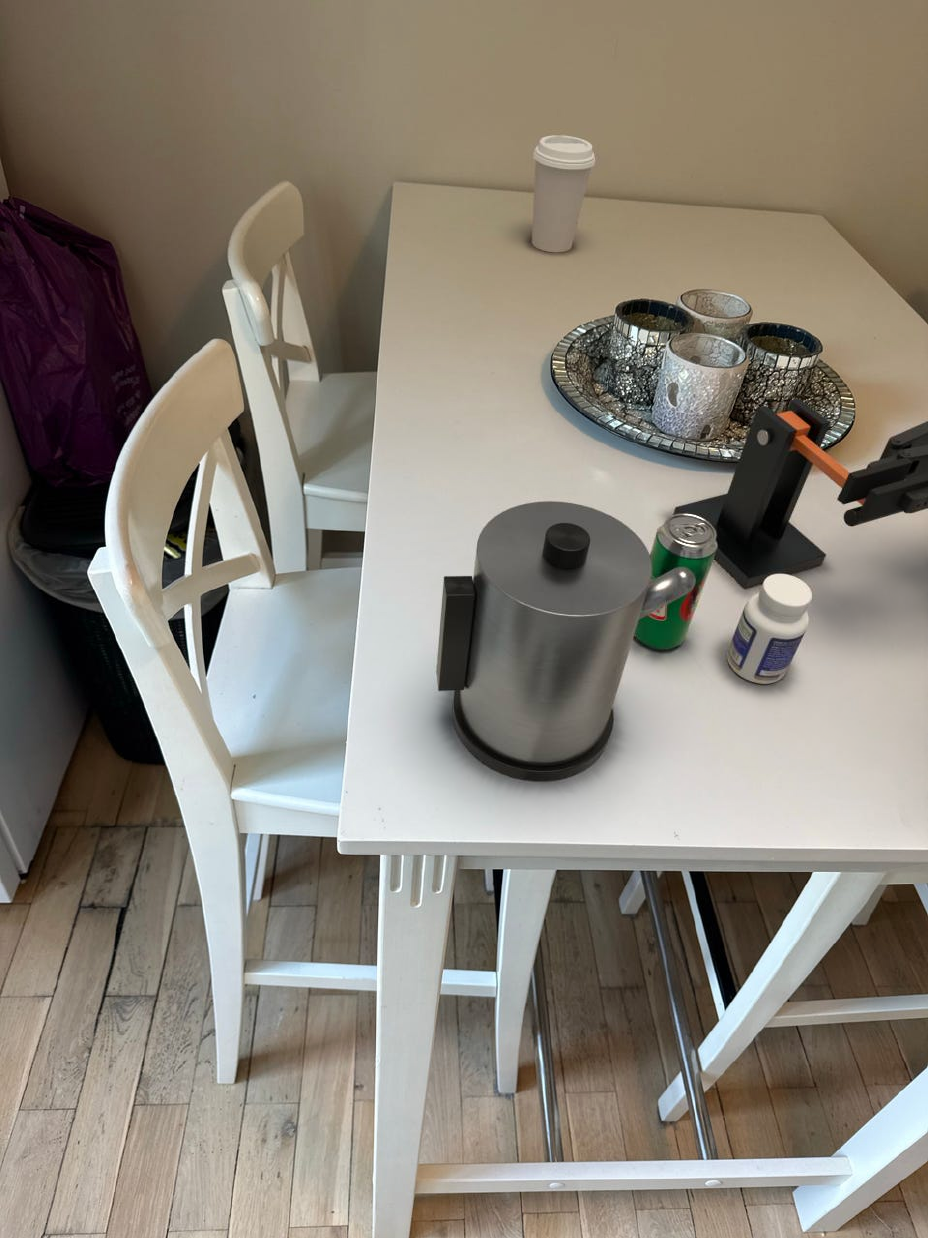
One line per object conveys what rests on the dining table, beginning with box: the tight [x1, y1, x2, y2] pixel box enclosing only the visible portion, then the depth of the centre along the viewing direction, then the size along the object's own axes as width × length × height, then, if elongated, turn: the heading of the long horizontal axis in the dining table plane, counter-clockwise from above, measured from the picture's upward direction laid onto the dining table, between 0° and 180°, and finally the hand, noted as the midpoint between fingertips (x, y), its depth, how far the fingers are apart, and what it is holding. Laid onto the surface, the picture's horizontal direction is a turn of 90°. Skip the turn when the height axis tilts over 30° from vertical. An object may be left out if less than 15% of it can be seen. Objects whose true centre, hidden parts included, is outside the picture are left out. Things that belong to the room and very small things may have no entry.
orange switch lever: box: [776, 411, 904, 527], centre depth 78 cm, size 14×7×2 cm, turn 26°
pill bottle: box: [726, 574, 813, 685], centre depth 75 cm, size 5×5×9 cm
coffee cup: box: [531, 134, 596, 254], centre depth 137 cm, size 10×10×15 cm
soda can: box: [634, 514, 718, 650], centre depth 76 cm, size 5×5×12 cm
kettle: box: [435, 500, 695, 782], centre depth 65 cm, size 18×13×19 cm
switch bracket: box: [672, 398, 831, 589], centre depth 85 cm, size 12×10×15 cm
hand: (857, 497), depth 72 cm, fingers closed on orange switch lever, 2 cm apart
